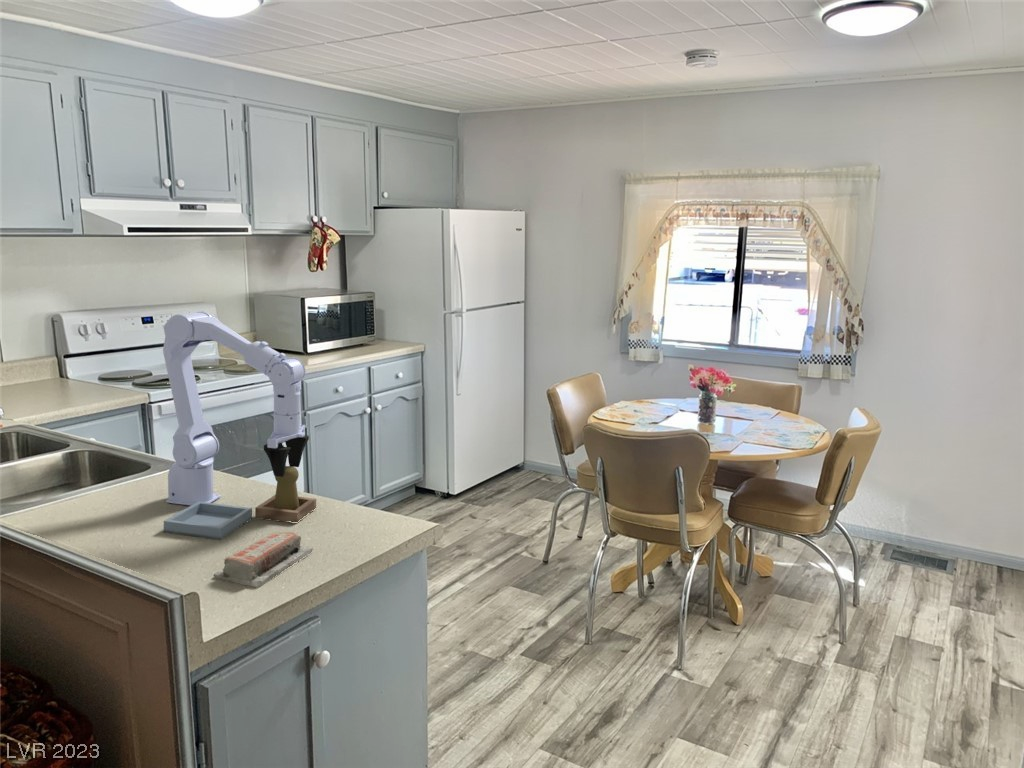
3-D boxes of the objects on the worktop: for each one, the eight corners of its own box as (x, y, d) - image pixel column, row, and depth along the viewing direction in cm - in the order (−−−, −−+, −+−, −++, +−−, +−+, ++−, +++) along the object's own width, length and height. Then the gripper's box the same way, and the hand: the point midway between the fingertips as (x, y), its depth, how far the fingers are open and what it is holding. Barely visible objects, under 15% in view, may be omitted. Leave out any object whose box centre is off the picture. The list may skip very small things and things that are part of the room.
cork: (295, 519, 177) (296, 472, 175) (269, 517, 177) (269, 470, 175) (303, 509, 183) (303, 464, 181) (277, 508, 183) (277, 462, 181)
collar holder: (255, 518, 176) (255, 507, 176) (276, 504, 186) (276, 493, 185) (297, 523, 175) (297, 512, 174) (316, 508, 184) (316, 498, 184)
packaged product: (258, 565, 142) (212, 555, 145) (258, 590, 143) (213, 580, 146) (313, 532, 159) (271, 524, 162) (313, 555, 160) (271, 546, 163)
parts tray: (163, 532, 165) (163, 521, 165) (199, 511, 178) (198, 501, 178) (220, 539, 163) (220, 528, 163) (252, 518, 176) (252, 508, 175)
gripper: (289, 421, 168) (288, 482, 171) (317, 407, 182) (316, 464, 185) (258, 418, 169) (258, 478, 172) (289, 404, 183) (288, 461, 186)
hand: (286, 471), depth 178 cm, fingers open, 7 cm apart
